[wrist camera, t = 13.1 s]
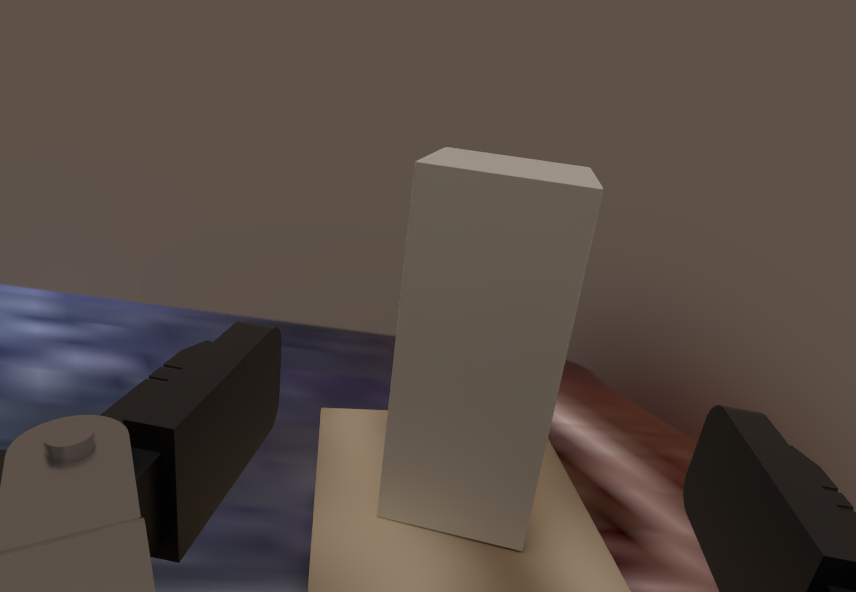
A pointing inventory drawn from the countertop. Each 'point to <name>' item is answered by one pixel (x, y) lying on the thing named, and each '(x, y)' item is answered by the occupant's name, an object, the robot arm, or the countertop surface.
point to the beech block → (433, 550)
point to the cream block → (482, 338)
